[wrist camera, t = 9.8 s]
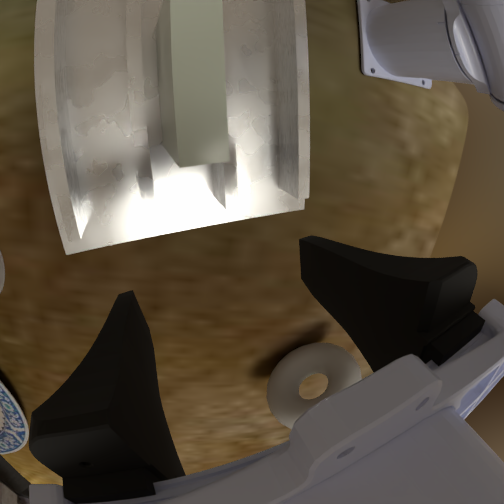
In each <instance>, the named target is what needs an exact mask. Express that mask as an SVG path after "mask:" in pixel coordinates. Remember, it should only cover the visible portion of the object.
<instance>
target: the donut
mask: <svg viewBox="0 0 504 504" xmlns="http://www.w3.org/2000/svg"><path fill="white" fill-rule="evenodd" d="M316 373H322V374H324V375H326V376H327V378H328V382H329V383H328V386H327V389H326V390H325V392H324V393H323V394H322V395H320V396H319V397H317V398H315V399H310V400H308V399H303V398H302V397H301V396H300V395H299V386H300V384H301V383H302V381H303V380H304V379H305V378H307V377H308V376H310V375H312V374H316ZM360 380H362V378H361V371H360V367H359V365H358V364H357V362H356V360H355V358H354V357H353V356H352V355H351V354H350V353H349V352H347V351H346V350H345V349H344V348H342V347H340V346H337V345H334V344H331V343H312V344H308V345H304V346H301V347H299V348H297V349H295V350H293V351H291V352H290V353H288V354H287V355H286V356H285V357H284V358H283V359H282V360H280V361H279V363H278V364H277V366H276V367H275V368H274V370H273V371H272V373H271V376H270V378H269V381H268V384H267V401H268V405H269V408H270V411H271V412H272V414H273V415H274V416H275V417H276V418H277V420H278V421H279V422H280V423H282V424H283V425H285V426H287V427H289V428H290V429H292V428H293V425H294V423H295V421H296V420H297V419H298V418H299V417H300V416H301V415H302V414H303V413H304V412H305V411H306V410H307V409H309V408H311V407H312V406H314V405H315V404H317V403H319V402H320V401H322V400H324V399H325V398H327V397H329V396H331V395H333V394H335V393H337V392H339V391H341V390H343V389H345V388H347V387H349V386H351V385H353V384H355V383H356V382H358V381H360Z"/></svg>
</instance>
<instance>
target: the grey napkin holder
mask: <svg viewBox="0 0 504 504" xmlns="http://www.w3.org/2000/svg"><path fill="white" fill-rule="evenodd" d="M29 485H31V483H30V482H28V481H27V480H26V479H25V478H24V477H23V476H22V475H21V474H20V473H18V472H17V471H16V470H15V469H14V468H13V467H12V466H11V465H10V464H9V463H8V462H7V461H6V460H5V459H4V458H3V457H2V456H1V455H0V504H30V502H29Z"/></svg>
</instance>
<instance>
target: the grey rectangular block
mask: <svg viewBox="0 0 504 504" xmlns="http://www.w3.org/2000/svg"><path fill="white" fill-rule="evenodd" d="M156 52H157V74H158V91H159V105H160V118H161V129H162V140H163V147H164V148H165V149H166V151H167V152H168V153H169V155H170V156H171V157H172V159H173V160H174V161H175V163H176V164H177V165H178V166H179V168H184V167H191V166H198V165H205V164H212V163H220V162H228V161H230V155H229V138H228V119H227V100H226V80H225V58H224V34H223V7H222V0H163V3H162V6H161V10H160V14H159V17H158V21H157V25H156Z"/></svg>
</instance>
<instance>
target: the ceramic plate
mask: <svg viewBox="0 0 504 504" xmlns="http://www.w3.org/2000/svg"><path fill="white" fill-rule="evenodd" d="M28 436H29V430H28V424H27V421H26V418H25V416H24V414H23V411H22V410H21V408H20V406H19V404H18V403H17V401H16V400H15V398H14V397H13V396H12V394H11V393H10V392H9V390H8V389H7V388H6V387H5V385H4V384H3V383H2V382H1V381H0V454H8V453H12V452H16V451H18V450H20V449H21V448H22V447H24V445H25V444H26V442H27V440H28Z"/></svg>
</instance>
